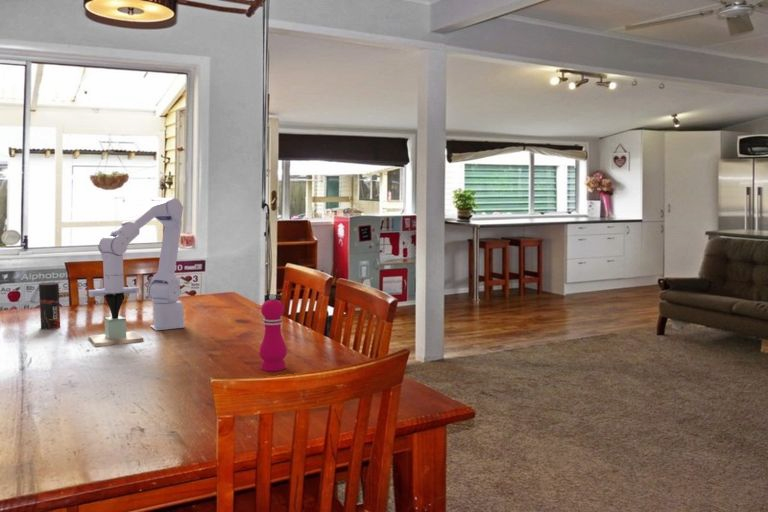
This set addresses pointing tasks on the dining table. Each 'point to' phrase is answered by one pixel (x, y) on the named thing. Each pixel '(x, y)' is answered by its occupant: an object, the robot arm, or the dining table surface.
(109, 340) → the board
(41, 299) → the deodorant
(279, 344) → the pepper mill
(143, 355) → the dining table surface
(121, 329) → the mint green grooved cube
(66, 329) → the dining table surface
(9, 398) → the dining table surface
